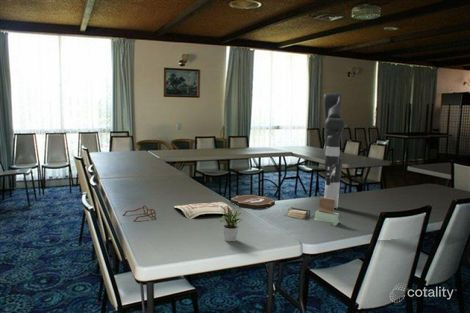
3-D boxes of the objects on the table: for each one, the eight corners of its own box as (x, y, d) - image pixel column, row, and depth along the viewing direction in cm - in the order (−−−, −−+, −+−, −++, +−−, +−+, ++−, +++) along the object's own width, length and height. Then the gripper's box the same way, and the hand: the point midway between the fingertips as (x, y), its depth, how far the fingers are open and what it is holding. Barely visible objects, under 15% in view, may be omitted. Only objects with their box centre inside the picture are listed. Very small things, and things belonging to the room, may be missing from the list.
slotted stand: (317, 218, 217) (318, 209, 217) (338, 222, 212) (339, 212, 211) (313, 221, 210) (314, 212, 209) (335, 225, 205) (336, 215, 204)
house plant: (205, 239, 170) (207, 204, 169) (223, 232, 182) (225, 199, 180) (231, 247, 162) (233, 210, 161) (248, 239, 174) (250, 204, 172)
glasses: (156, 218, 200) (156, 209, 199) (133, 222, 191) (133, 212, 191) (144, 213, 210) (144, 204, 209) (122, 216, 201) (122, 207, 200)
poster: (216, 209, 239) (171, 211, 225) (217, 199, 238) (171, 200, 224) (237, 218, 214) (187, 220, 200) (238, 207, 214) (188, 208, 200)
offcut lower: (290, 214, 218) (290, 211, 218) (305, 216, 214) (305, 214, 214) (287, 216, 214) (287, 213, 213) (303, 218, 210) (303, 216, 210)
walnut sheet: (318, 217, 214) (320, 197, 212) (333, 220, 210) (335, 199, 209) (318, 218, 212) (319, 197, 211) (332, 221, 208) (334, 199, 207)
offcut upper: (290, 211, 217) (290, 209, 217) (306, 214, 214) (306, 211, 214) (288, 213, 213) (288, 211, 213) (304, 216, 209) (304, 213, 209)
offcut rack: (289, 213, 225) (289, 206, 224) (312, 217, 218) (312, 210, 218) (282, 218, 214) (283, 210, 213) (306, 222, 208) (307, 214, 207)
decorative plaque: (258, 207, 224) (220, 198, 243) (257, 212, 225) (220, 203, 244) (285, 200, 248) (248, 192, 266) (284, 205, 248) (248, 197, 267)
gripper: (328, 153, 215) (325, 181, 217) (322, 155, 202) (319, 184, 204) (341, 154, 211) (339, 182, 213) (336, 156, 199) (334, 186, 201)
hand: (329, 183), depth 209 cm, fingers open, 8 cm apart
